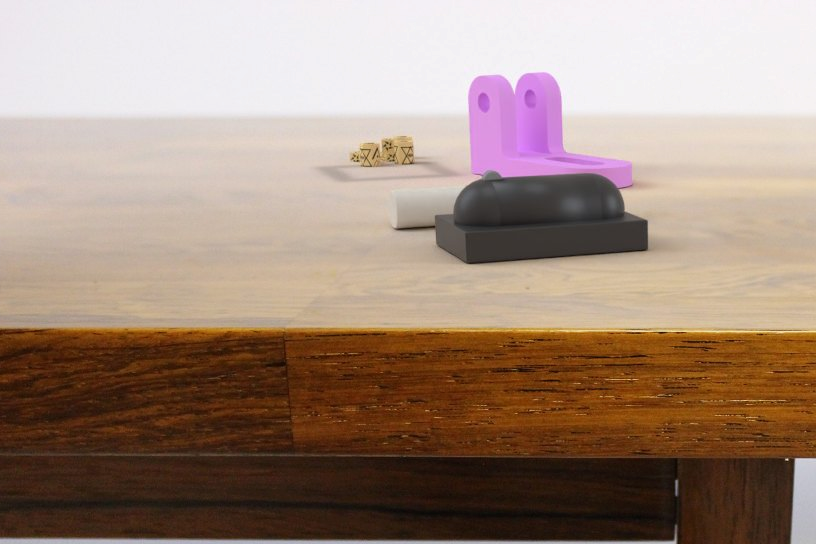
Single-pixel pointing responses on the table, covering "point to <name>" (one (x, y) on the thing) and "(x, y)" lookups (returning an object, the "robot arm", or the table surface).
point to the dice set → (385, 152)
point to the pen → (420, 205)
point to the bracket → (527, 131)
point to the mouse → (539, 218)
